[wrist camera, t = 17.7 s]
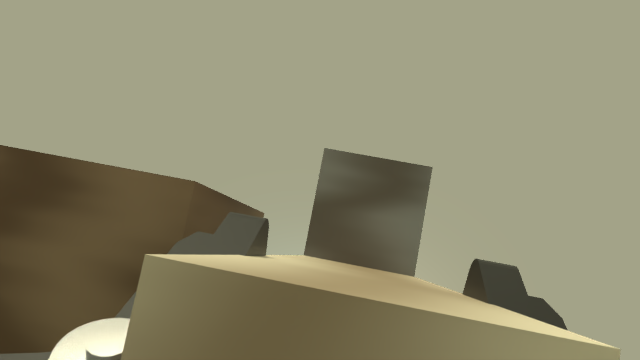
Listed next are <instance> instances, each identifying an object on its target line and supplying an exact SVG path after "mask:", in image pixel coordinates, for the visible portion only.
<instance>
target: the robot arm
mask: <svg viewBox="0 0 640 360" xmlns="http://www.w3.org/2000/svg"><path fill="white" fill-rule="evenodd" d="M268 229H269V223H268V219H266V218H261V217H255V216H250V215H245V214H240V213H234V212H229V213H228V215H227V216H226V217H225V219H224V220H223V222H222V223H221V224H220V226H219V227H218V229H217V230H216V231H215V233H214V234H209V233H204V232H199V231H198V232H196V233H194V234H192V235H190V236H188V237H186V238H184V239H182V240H180V241H178V242H176V244H175V245H174V246H173V247H172V249H171V250H170V251H169V252H168V253H167V254H179V255H243V256H266V248H267V238H268ZM463 295H465V296H468V297H471V298H474V299H476V300H479V301H482V302H485V303H488V304H492V305H496V306H499V307H502V308H504V309H507V310H510V311H513V312H516V313H519V314H522V315H524V316H527V317H530V318H533V319H536V320H539V321H542V322H544V323H547V324H550V325H553V326H556V327H559V328H561V329H564V330H567V328H566V326H565V324H564V321H563V319H562V318H561V317H560V316H559V315H558V314H557V313H556V312H555V311H554V310H553V309H552V308H551V307H550V306H549V305H548V304H547V303H546V302H545V300H544V299H541V298H537V297H532V296H528V295H527V292H526V289H525V286H524V284H523V281H522V278H521V275H520V273H519V270H518V268H517V267H515V266H511V265H506V264H501V263H496V262H490V261H485V260H480V259H475V260H474V261H473V263H472V265H471V268H470V270H469V273H468V277H467V281H466V284H465V288H464V291H463ZM135 296H136V292H135V293H134V295H133V296H132V297H131V298H130V299H129V301H128V302H127V303H126V304H125V305H124V307H123V308H122V309H121V310H120V312H119V313H118V314H117V315H116V316H115V318H109V319H102V320H97V321H93V322H90V323H87V324H84V325H82V326H80V327H78V328H76V329H74V330H73V331H71V332H69V333H68V334H67V335H65V336H64V337H63V338H62V339H61V340H60V341H59V342H58V343H57V345H56V346H55V348H54V349H53V351H51V352H41V353H14V354H0V360H121V356H122V352H123V348H124V343H125V339H126V335H127V330H128V326H129V322H130V317H131V313H132V309H133V304H134V300H135ZM567 331H568V330H567Z"/></svg>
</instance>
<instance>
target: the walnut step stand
mask: <svg viewBox="0 0 640 360" xmlns="http://www.w3.org/2000/svg"><path fill="white" fill-rule="evenodd" d="M229 212H234V213H240V214H245V215H250V216H255V217H261V218H263V217H264V213H263V212H260V211H258V210H256V209H254V208H252V207H250V206H247V205H245V204H243V203H241V202H239V201H237V200H234V199H232V198H230V197H228V196H226V195H224V194H221V193H219V192H217V191H215V190H213V189H211V188H208V187H206V186H204V185H202V184H200V183H198V182H195V181H191V180H185V179H180V178H174V177H168V176H163V175H158V174H153V173H148V172H142V171H136V170H131V169H126V168H120V167H115V166H110V165H104V164H99V163H94V162H88V161H83V160H78V159H72V158H66V157H62V156H56V155H51V154H45V153H40V152H35V151H29V150H24V149H18V148H13V147H8V146H3V145H0V354H14V353H41V352H51V351H53V349H54V348H55V346H56V345H57V343H58V342H59V341H60V340H61V339H62V338H63V337H64V336H65V335H67V334H68V333H69V332H71V331H73V330H74V329H76V328H78V327H80V326H82V325H84V324H87V323H90V322H93V321H97V320H102V319H109V318H115V316H116V315H117V314H118V313H119V312H120V310H121V309H122V308H123V307H124V305H125V304H126V303H127V302H128V301H129V299H130V298H131V297H132V296H133V295H134V293H135V292H136V291H137V287H138V283H139V278H140V274H141V270H142V265H143V261H144V257H145V254H167V253H168V252H169V251H170V250H171V249H172V247H173V246H174V245H175V244H176V242H178V241H180V240H182V239H184V238H186V237H188V236H190V235H192V234H194V233H196V232H198V231H199V232H204V233H209V234H214V233H215V231H216V230H217V229H218V227H219V226H220V224H221V223H222V222H223V220H224V219H225V217H226V216H227V215H228V213H229Z"/></svg>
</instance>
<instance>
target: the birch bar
mask: <svg viewBox="0 0 640 360" xmlns="http://www.w3.org/2000/svg"><path fill="white" fill-rule="evenodd" d="M431 173H432V167H428V166H423V165H417V164H411V163H406V162H400V161H394V160H389V159H383V158H377V157H371V156H366V155H360V154H354V153H349V152H344V151H337V150H332V149H327V148H325V149H324V154H323V159H322V164H321V169H320V174H319V180H318V184H317V190H316V195H315V201H314V205H313V210H312V216H311V221H310V226H309V231H308V237H307V241H306V246H305V252H304V255H266V256H243V255H179V254H145V257H144V261H143V265H142V270H141V274H140V278H139V283H138V287H137V291H136V296H135V300H134V304H133V309H132V313H131V317H130V322H129V326H128V330H127V335H126V339H125V343H124V348H123V352H122V356H121V360H620V351H621V350H620V349H618V348H615V347H613V346H610V345H607V344H604V343H601V342H599V341H595V340H593V339H590V338H587V337H584V336H581V335H579V334H576V333H573V332H570V331H567V330H564V329H561V328H559V327H556V326H553V325H550V324H547V323H544V322H542V321H539V320H536V319H533V318H530V317H527V316H524V315H522V314H519V313H516V312H513V311H510V310H507V309H504V308H502V307H499V306H496V305H492V304H488V303H485V302H482V301H479V300H476V299H474V298H471V297H468V296H465V295H463V294H462V293H459V292H456V291H453V290H450V289H447V288H445V287H442V286H439V285H436V284H433V283H430V282H427V281H425V280H422V279H419V278H415V277H414V275H415V268H416V262H417V256H418V249H419V244H420V239H421V232H422V227H423V220H424V215H425V209H426V203H427V196H428V191H429V185H430V179H431Z"/></svg>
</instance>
